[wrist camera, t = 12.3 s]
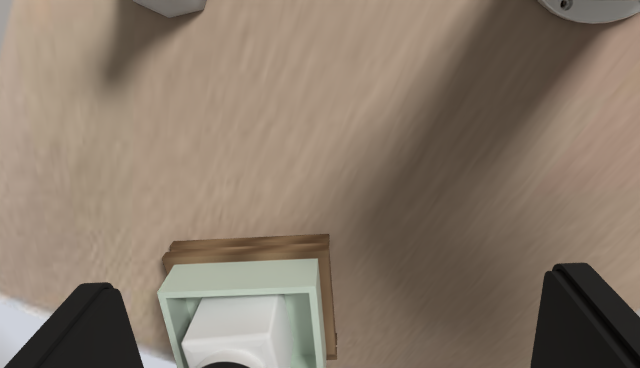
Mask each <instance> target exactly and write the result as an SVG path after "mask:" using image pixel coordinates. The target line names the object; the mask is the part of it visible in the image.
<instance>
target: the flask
mask: <svg viewBox="0 0 640 368" xmlns="http://www.w3.org/2000/svg"><path fill="white" fill-rule="evenodd" d="M133 1H134V2H135V3H138V4H140V5H142V6H144V7H146V8H148V9H151V10H153V11H155V12H157V13H159V14H161V15H164V16H166V17H168V18H171V17H175V16H179V15H183V14H187V13H191V12H195V11H199V10H203V9H204V7H205V3H206V0H133Z"/></svg>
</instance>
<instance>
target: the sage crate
mask: <svg viewBox="0 0 640 368" xmlns="http://www.w3.org/2000/svg"><path fill="white" fill-rule="evenodd" d="M157 294H158V298H159V302H160V305H161V309H162V313H163V317H164V320H165V324H166V328H167V331H168V335H169V339H170V343H171V346H172V350H173V354H174V357H175V361H176V365H177V368H189V366H188V363H187V360H186V357H185V354H184V351H183V349H182V346H181V344H182V340H183V338H184V336H185V334H186V331H187V329H188V327H189V325H190V323H191V321H192V318H193V316H194V314H195V312H196V310H197V307H198V305H199V303H200V301H201V299H202V297H211V296H237V295H263V294H284V299H285V303H286V308H287V312H288V317H289V321H290V326H291V330H292V335H293V339H294V341H293V349H292V357H291V365H290V368H326V344H325V332H324V321H323V310H322V299H321V288H320V276H319V265H318V259H295V260H272V261H249V262H226V263H203V264H180V265H174V266H173V268H172V269H171V271H170V273H169V274H168V276H167V277H166V279H165V281H164V282H163V284H162V285H161V287H160V289H159V290H158V292H157Z"/></svg>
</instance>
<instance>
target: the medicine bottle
mask: <svg viewBox="0 0 640 368" xmlns="http://www.w3.org/2000/svg"><path fill="white" fill-rule="evenodd" d="M293 341H294V339H293V335H292V330H291V326H290V321H289V317H288V312H287V308H286V303H285V299H284V294H263V295H237V296H211V297H202V299H201V301H200V303H199V305H198V307H197V310H196V312H195V314H194V316H193V318H192V321H191V323H190V325H189V327H188V329H187V331H186V334H185V336H184V338H183V340H182V344H181V346H182V349H183V351H184V354H185V357H186V360H187V363H188V366H189V368H290V365H291V357H292V349H293Z"/></svg>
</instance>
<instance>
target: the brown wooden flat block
mask: <svg viewBox="0 0 640 368" xmlns="http://www.w3.org/2000/svg"><path fill="white" fill-rule="evenodd" d="M329 241H330V240H329V234H319V235H298V236H276V237H255V238H234V239H213V240H191V241H173V243H172V244H171V246H170V250H171V251H170V252H166V253H165V254H164V256H163V257H162V261H163V265H165V268H166V272H167V276H168V274H169V273H170V271H171V269H172V268H173V266H174V265H180V264H203V263H226V262H249V261H272V260H295V259H318V265H319V276H320V288H321V299H322V310H323V321H324V332H325V344H326V360H337V347H336V345H337V333H336V332H335V319H334V306H333V293H332V280H331V267H330V254H329Z"/></svg>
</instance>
